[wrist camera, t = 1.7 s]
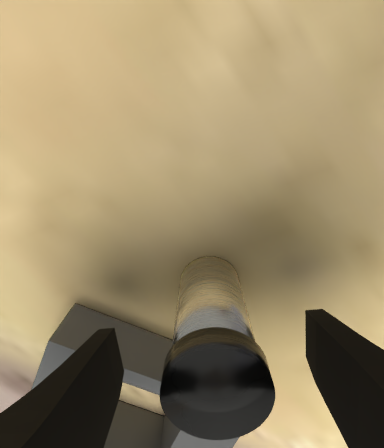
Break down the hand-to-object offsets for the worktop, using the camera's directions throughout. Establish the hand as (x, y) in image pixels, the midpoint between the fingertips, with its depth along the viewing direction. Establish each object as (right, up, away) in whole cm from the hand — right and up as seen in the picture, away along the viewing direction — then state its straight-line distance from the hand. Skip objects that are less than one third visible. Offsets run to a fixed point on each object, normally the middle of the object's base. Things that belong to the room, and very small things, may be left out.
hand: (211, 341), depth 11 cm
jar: (0, +1, +4) cm, 5 cm away
